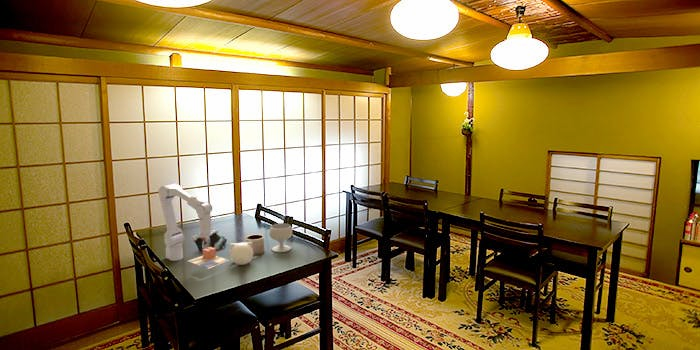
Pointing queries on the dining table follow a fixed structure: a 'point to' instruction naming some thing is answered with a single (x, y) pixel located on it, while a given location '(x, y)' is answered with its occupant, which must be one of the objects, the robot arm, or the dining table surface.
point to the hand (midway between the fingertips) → (206, 249)
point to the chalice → (280, 236)
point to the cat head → (241, 253)
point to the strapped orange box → (209, 253)
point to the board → (208, 261)
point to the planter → (256, 243)
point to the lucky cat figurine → (218, 244)
